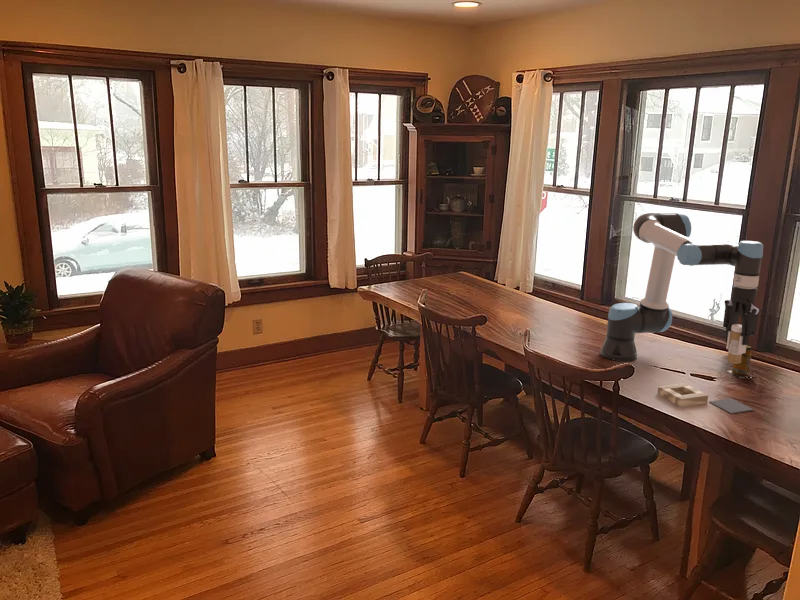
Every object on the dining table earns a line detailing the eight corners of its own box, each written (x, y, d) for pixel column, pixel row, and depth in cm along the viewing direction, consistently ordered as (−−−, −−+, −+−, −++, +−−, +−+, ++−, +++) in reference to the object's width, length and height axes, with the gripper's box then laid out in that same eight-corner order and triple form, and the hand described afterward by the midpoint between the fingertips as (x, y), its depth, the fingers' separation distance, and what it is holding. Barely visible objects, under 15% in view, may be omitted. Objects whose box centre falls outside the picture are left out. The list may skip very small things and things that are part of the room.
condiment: (741, 370, 259) (745, 342, 256) (756, 377, 251) (761, 349, 248) (726, 371, 257) (730, 343, 254) (740, 378, 249) (745, 350, 246)
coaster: (709, 402, 227) (709, 401, 227) (731, 399, 230) (731, 398, 229) (730, 413, 217) (731, 412, 217) (753, 410, 220) (753, 409, 220)
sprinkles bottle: (729, 358, 222) (734, 322, 219) (743, 362, 219) (748, 325, 216) (724, 361, 219) (729, 325, 216) (738, 365, 216) (743, 328, 213)
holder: (657, 393, 234) (658, 386, 233) (683, 390, 237) (684, 383, 237) (680, 406, 223) (681, 399, 222) (707, 402, 226) (708, 395, 226)
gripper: (716, 281, 219) (708, 344, 225) (757, 292, 203) (746, 359, 209) (734, 280, 222) (725, 342, 227) (775, 291, 205) (764, 357, 211)
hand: (735, 350), depth 218 cm, fingers closed on sprinkles bottle, 4 cm apart
